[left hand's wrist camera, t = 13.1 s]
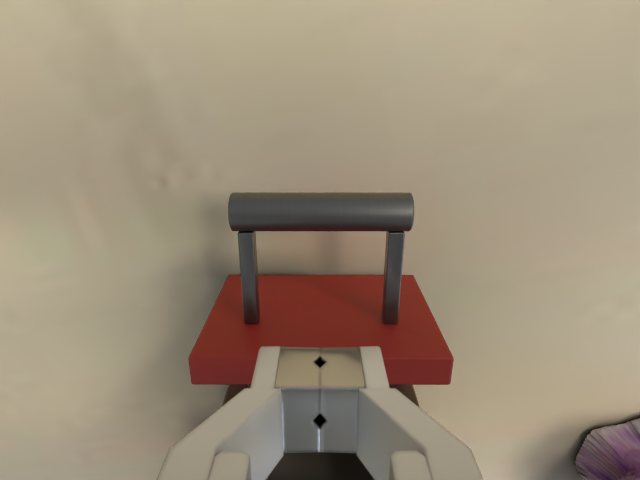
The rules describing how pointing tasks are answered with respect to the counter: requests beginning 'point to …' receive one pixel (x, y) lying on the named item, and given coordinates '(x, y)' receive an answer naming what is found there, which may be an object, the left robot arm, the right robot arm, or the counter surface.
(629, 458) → the figurine
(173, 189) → the counter surface
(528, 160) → the counter surface
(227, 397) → the drawer
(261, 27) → the counter surface
